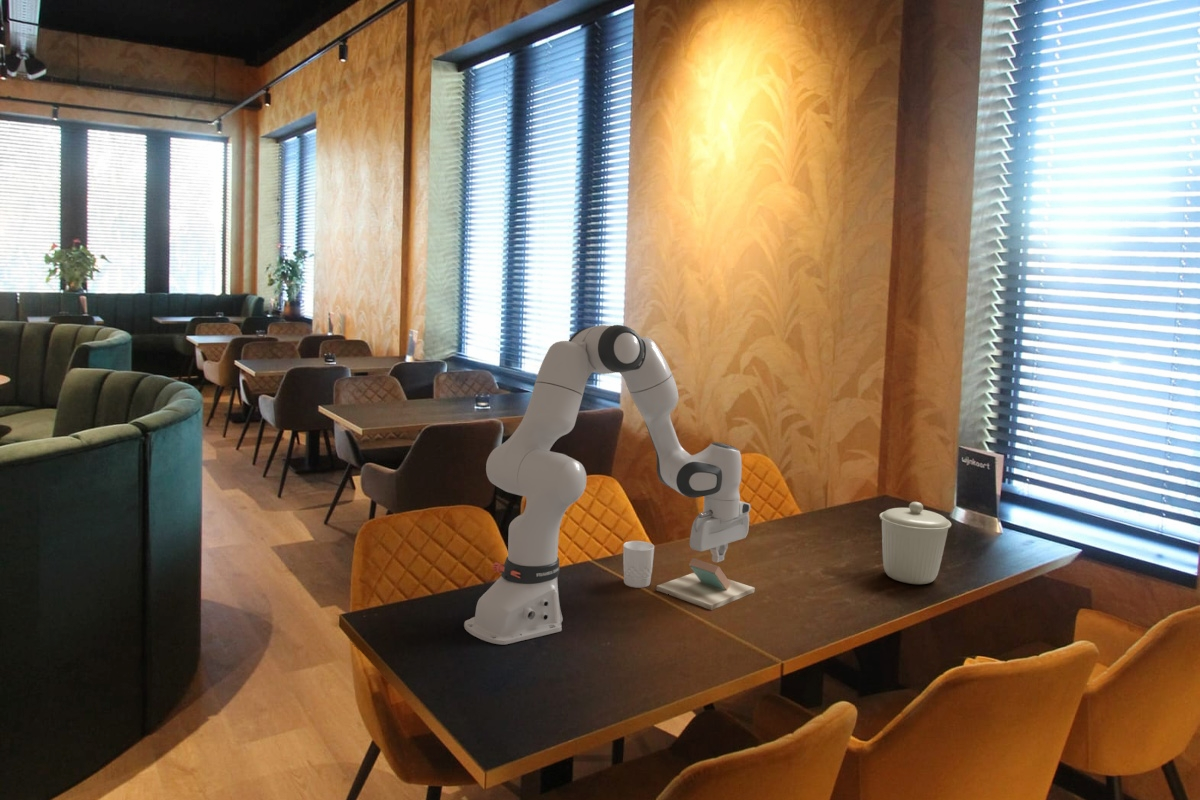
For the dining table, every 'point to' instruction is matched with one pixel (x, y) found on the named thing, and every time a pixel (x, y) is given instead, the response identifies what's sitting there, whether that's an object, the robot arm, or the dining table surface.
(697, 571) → the block
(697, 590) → the board
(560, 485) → the robot arm
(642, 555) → the white cup
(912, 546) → the canister
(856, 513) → the dining table surface
